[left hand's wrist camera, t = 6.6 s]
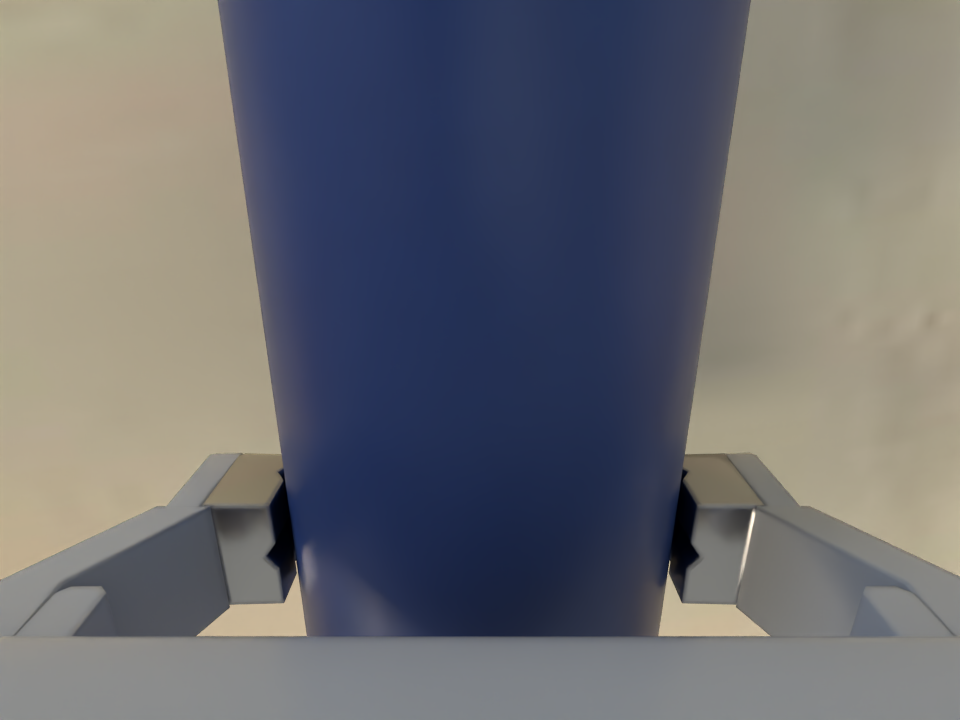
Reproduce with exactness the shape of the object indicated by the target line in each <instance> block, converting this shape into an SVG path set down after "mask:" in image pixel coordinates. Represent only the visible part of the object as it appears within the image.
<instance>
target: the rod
mask: <svg viewBox="0 0 960 720" xmlns="http://www.w3.org/2000/svg"><path fill="white" fill-rule="evenodd" d="M750 2H751V0H218V5H219V12H220V20H221V27H222V34H223V41H224V48H225V55H226V62H227V69H228V77H229V84H230V91H231V98H232V105H233V112H234V119H235V126H236V134H237V141H238V148H239V155H240V162H241V169H242V176H243V183H244V190H245V198H246V205H247V212H248V219H249V226H250V233H251V240H252V247H253V255H254V262H255V269H256V276H257V283H258V290H259V297H260V304H261V312H262V319H263V326H264V333H265V340H266V347H267V354H268V361H269V368H270V376H271V383H272V390H273V397H274V404H275V411H276V418H277V425H278V433H279V440H280V447H281V454H282V461H283V468H284V475H285V482H286V490H287V497H288V504H289V511H290V518H291V525H292V532H293V539H294V547H295V554H296V561H297V568H298V575H299V582H300V589H301V596H302V603H303V611H304V618H305V625H306V632H307V636H658V634H659V628H660V621H661V614H662V607H663V600H664V593H665V586H666V579H667V573H668V566H669V559H670V552H671V545H672V538H673V531H674V524H675V518H676V511H677V504H678V497H679V490H680V483H681V476H682V469H683V463H684V456H685V449H686V442H687V435H688V428H689V421H690V414H691V408H692V401H693V394H694V387H695V380H696V373H697V366H698V359H699V353H700V346H701V339H702V332H703V325H704V318H705V311H706V304H707V298H708V291H709V284H710V277H711V270H712V263H713V256H714V249H715V243H716V236H717V229H718V222H719V215H720V208H721V201H722V194H723V188H724V181H725V174H726V167H727V160H728V153H729V146H730V139H731V133H732V126H733V119H734V112H735V105H736V98H737V91H738V84H739V78H740V71H741V64H742V57H743V50H744V43H745V36H746V29H747V23H748V16H749V9H750Z"/></svg>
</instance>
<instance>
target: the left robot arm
mask: <svg viewBox="0 0 960 720" xmlns="http://www.w3.org/2000/svg"><path fill="white" fill-rule="evenodd" d="M669 560H670V561H671V562H670V570H669V574H670V576H671V579H672V581H673V583H674V586H675V588H676V590H677V592H678V595H679V597H680V599H681V602H682V603H698V604H735V605H736V607H737V608H738V609H739V610H740V611H742V612H743V613H744V614H745V615H746V616H748V617H749V618H750V619H751V620H752V621H753V622H755V623H756V624H757V625H758V626H759V627H761V628H762V629H763V630H764V631H765V632H767V633H768V634H769V635H770V636H197V635H198V634H199V633H200V632H201V631H202V630H204V629H205V628H206V627H207V626H208V625H210V624H211V623H212V622H213V621H214V620H215V619H217V618H218V617H219V616H220V615H221V614H223V613H224V612H225V611H226V610H227V609H228V608H230V606H229V605H231V604H267V603H284V602H285V600H286V597H287V595H288V592H289V590H290V588H291V585H292V583H293V581H294V578H295V576H296V573H297V572H296V564H295V561H296V554H295V547H294V539H293V532H292V525H291V518H290V511H289V504H288V497H287V490H286V482H285V475H284V468H283V461H282V454H250V453H245V454H243V453H216V454H211V455H209V456H208V457H207V459H206V460H205V461H204V462H203V463H202V465H201V466H200V467H199V468H198V469H197V470H196V472H195V473H194V474H193V475H192V476H191V478H190V479H189V480H188V481H187V482H186V483H185V485H184V486H183V487H182V488H181V489H180V491H179V492H178V493H177V494H176V495H175V497H174V498H173V499H172V500H171V501H170V502H169V504H168V505H167V506H156V507H154V508H152V509H150V510H148V511H146V512H144V513H142V514H139V515H137V516H135V517H133V518H131V519H129V520H127V521H125V522H123V523H120V524H118V525H116V526H114V527H112V528H110V529H108V530H106V531H103V532H101V533H99V534H97V535H95V536H93V537H91V538H89V539H87V540H84V541H82V542H80V543H78V544H76V545H74V546H72V547H70V548H67V549H65V550H63V551H61V552H59V553H57V554H55V555H53V556H51V557H48V558H46V559H44V560H42V561H40V562H38V563H36V564H34V565H31V566H29V567H27V568H25V569H23V570H21V571H19V572H17V573H15V574H12V575H10V576H8V577H6V578H4V579H2V580H0V720H960V577H959V576H957V575H955V574H953V573H951V572H949V571H947V570H944V569H942V568H940V567H938V566H936V565H934V564H932V563H930V562H927V561H925V560H923V559H921V558H919V557H917V556H915V555H912V554H910V553H908V552H906V551H904V550H902V549H900V548H898V547H895V546H893V545H891V544H889V543H887V542H885V541H883V540H881V539H878V538H876V537H874V536H872V535H870V534H868V533H866V532H863V531H861V530H859V529H857V528H855V527H853V526H851V525H849V524H846V523H844V522H842V521H840V520H838V519H836V518H834V517H831V516H829V515H827V514H825V513H823V512H821V511H819V510H817V509H814V508H812V507H810V506H800V505H799V504H798V503H797V502H796V501H795V500H794V498H793V497H792V496H791V495H790V494H789V493H788V491H787V490H786V489H785V488H784V487H783V486H782V485H781V483H780V482H779V481H778V480H777V479H776V478H775V476H774V475H773V474H772V473H771V472H770V471H769V469H768V468H767V467H766V466H765V465H764V464H763V462H762V461H761V460H760V459H759V458H758V457H757V456H756V455H754V454H752V453H730V454H686V455H685V456H684V463H683V469H682V476H681V483H680V490H679V497H678V504H677V511H676V518H675V524H674V531H673V538H672V545H671V552H670V559H669Z"/></svg>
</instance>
